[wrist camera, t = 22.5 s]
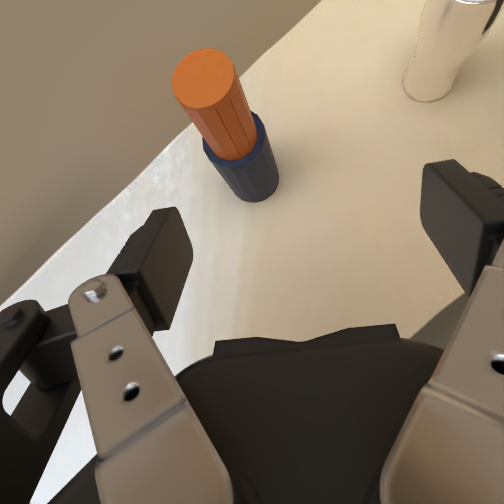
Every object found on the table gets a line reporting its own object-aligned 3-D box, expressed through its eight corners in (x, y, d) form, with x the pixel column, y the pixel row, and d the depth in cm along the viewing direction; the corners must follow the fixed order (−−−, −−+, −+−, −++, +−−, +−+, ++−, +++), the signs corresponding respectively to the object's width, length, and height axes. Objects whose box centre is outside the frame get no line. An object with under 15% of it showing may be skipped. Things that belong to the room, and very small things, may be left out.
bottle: (275, 152, 47) (252, 72, 31) (281, 197, 46) (260, 139, 30) (229, 161, 48) (183, 88, 32) (234, 206, 47) (189, 153, 31)
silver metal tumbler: (396, 61, 46) (430, -53, 31) (452, 52, 45) (516, -72, 30) (402, 109, 45) (441, 13, 30) (460, 101, 43) (531, -4, 29)
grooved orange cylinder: (254, 110, 35) (230, 41, 26) (259, 155, 35) (237, 99, 25) (207, 120, 36) (169, 57, 27) (212, 164, 35) (174, 114, 26)
